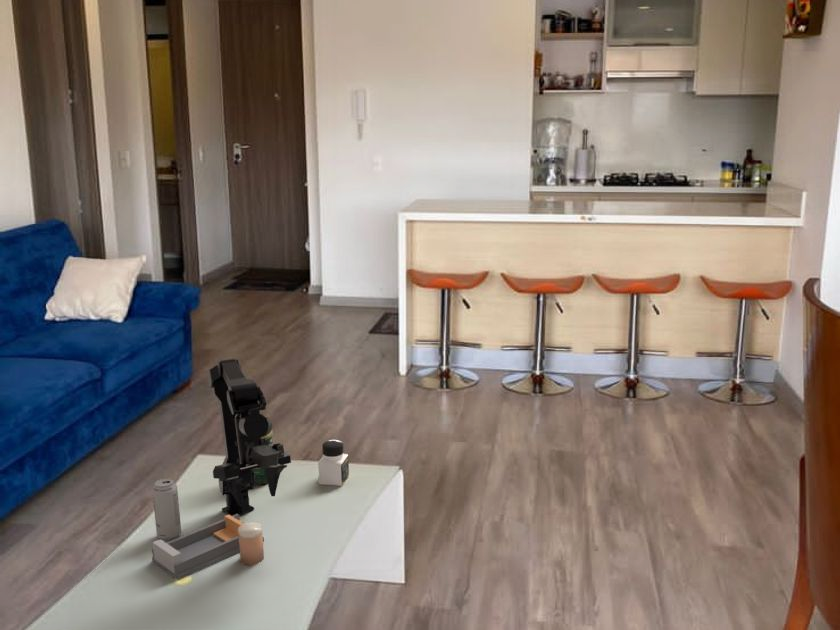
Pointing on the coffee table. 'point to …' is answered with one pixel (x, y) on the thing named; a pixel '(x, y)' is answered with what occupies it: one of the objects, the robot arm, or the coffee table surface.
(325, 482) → the medicine bottle
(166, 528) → the energy drink can
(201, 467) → the coffee table surface
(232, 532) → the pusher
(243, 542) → the jar
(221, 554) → the lane
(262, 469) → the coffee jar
